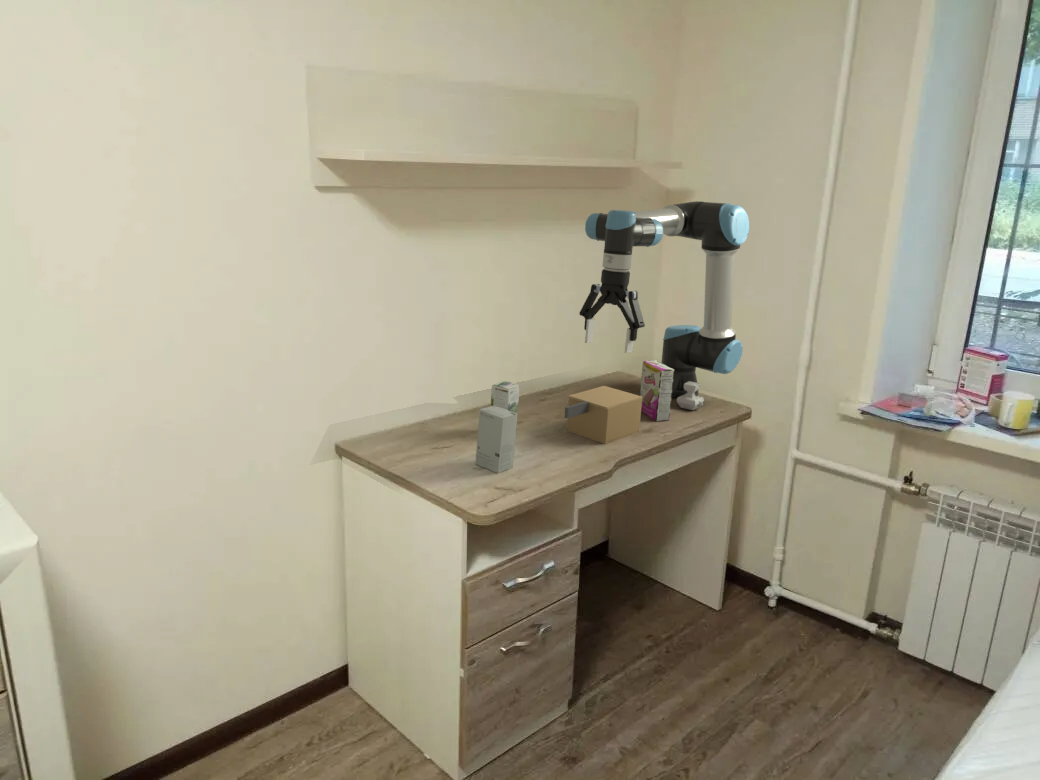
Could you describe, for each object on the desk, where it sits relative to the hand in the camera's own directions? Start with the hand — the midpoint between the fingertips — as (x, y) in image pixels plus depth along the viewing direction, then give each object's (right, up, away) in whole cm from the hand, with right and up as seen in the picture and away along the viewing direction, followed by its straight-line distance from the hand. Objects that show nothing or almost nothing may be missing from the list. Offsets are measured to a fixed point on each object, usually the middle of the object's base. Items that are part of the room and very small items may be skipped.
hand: (608, 347), depth 217 cm
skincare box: (-30, -31, -17) cm, 47 cm away
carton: (0, -24, +13) cm, 27 cm away
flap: (-3, -17, +7) cm, 19 cm away
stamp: (+30, -18, +38) cm, 52 cm away
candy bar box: (+17, -20, +29) cm, 39 cm away
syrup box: (-29, -24, +7) cm, 38 cm away
